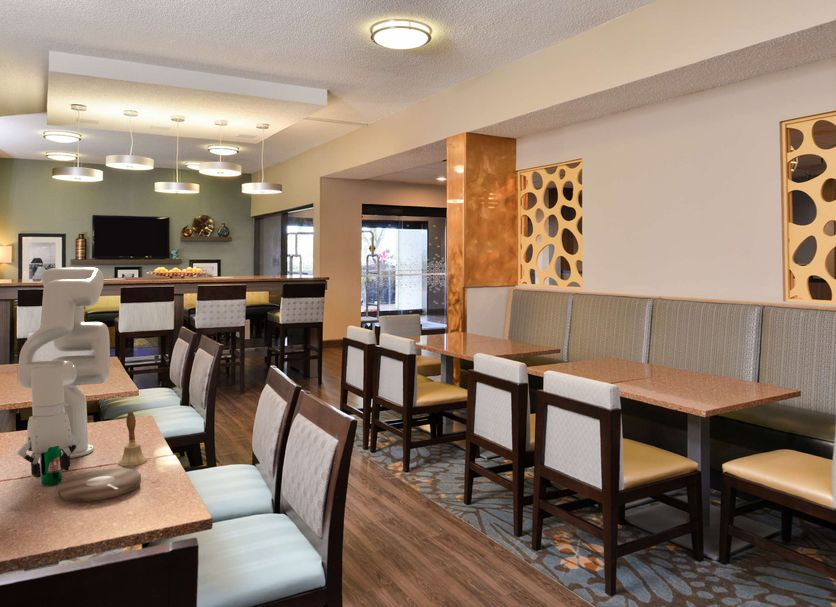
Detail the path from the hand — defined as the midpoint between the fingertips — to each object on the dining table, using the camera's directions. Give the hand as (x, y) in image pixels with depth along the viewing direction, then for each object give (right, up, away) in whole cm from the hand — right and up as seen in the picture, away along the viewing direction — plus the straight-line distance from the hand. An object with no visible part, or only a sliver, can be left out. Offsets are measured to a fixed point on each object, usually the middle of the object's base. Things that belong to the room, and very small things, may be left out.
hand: (51, 472), depth 168 cm
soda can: (0, -3, 0) cm, 3 cm away
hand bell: (+14, -2, +18) cm, 23 cm away
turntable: (+16, -2, -5) cm, 17 cm away
